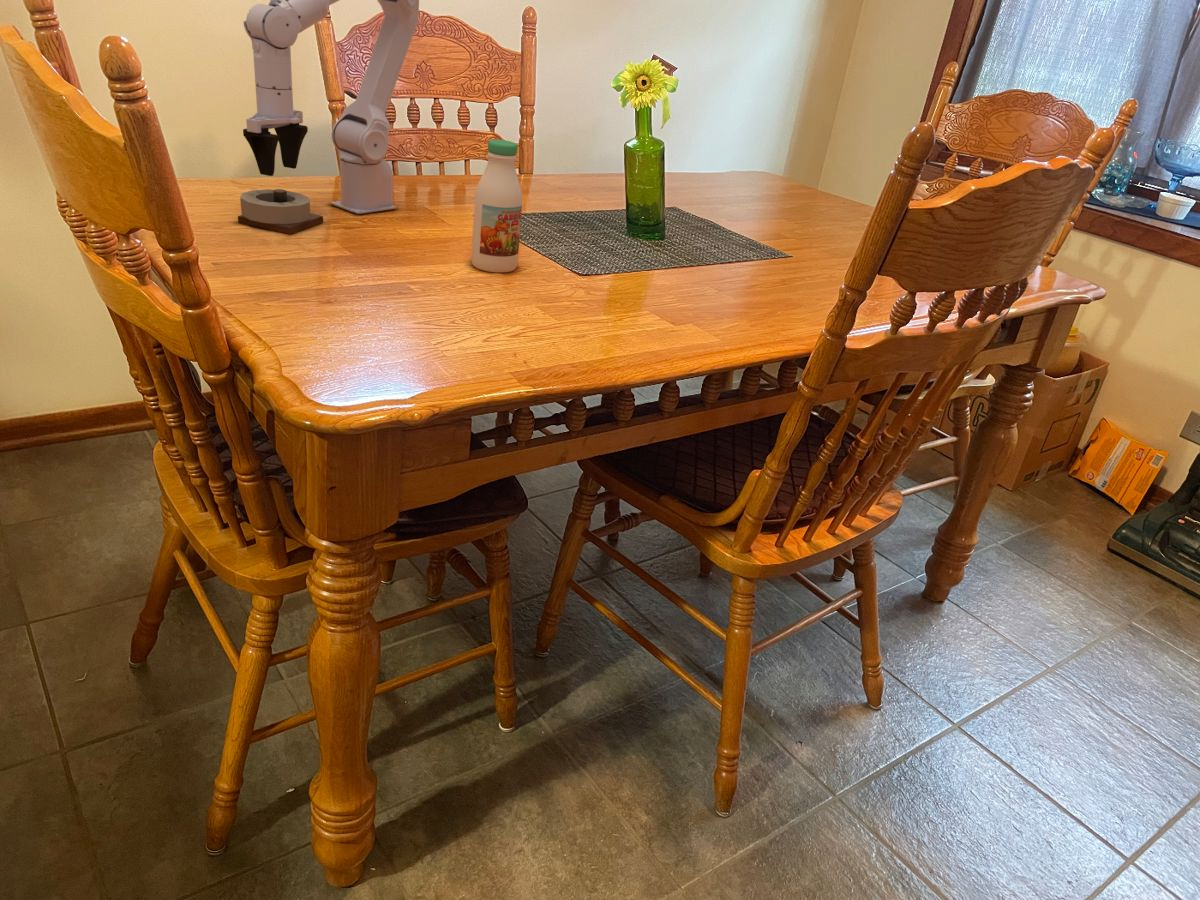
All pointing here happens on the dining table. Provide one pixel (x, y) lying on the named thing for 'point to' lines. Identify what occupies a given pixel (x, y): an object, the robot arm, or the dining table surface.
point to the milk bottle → (497, 211)
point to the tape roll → (275, 207)
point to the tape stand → (281, 197)
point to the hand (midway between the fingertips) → (278, 171)
